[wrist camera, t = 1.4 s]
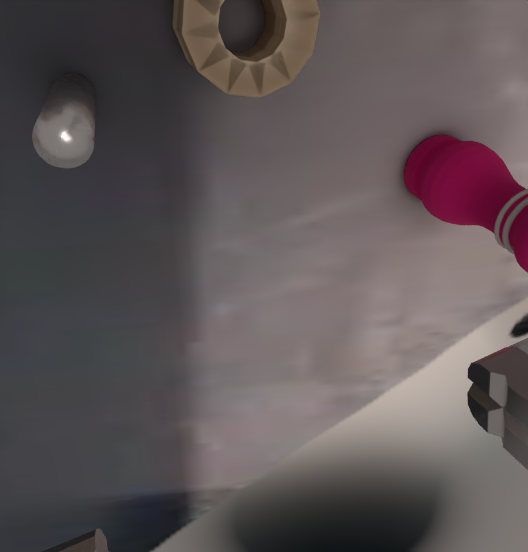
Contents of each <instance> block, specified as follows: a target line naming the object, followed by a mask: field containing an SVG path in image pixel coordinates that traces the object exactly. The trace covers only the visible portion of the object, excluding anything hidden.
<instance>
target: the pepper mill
mask: <svg viewBox="0 0 528 552" xmlns="http://www.w3.org/2000/svg"><path fill="white" fill-rule="evenodd" d="M404 176H405V183H406V186H407V188H408V190H409V191H410V192H411V193H412V194H413V195H414V196H416V197H417V198H419V199H420V200H421V201H422V202H423V204H424V206H425V208H426V209H427V210H428V211H429V212H430V214H432V215H433V216H435V217H436V218H438V219H440V220H442V221H445V222H448V223H452V224H458V225H479V226H483V227H485V228H486V229H488V230H490V231H492V232H493V233H494V234H495V239H496V241H497V242H498V244H499V245H501V246H502V247H503V248H506V249H507V250H508V251H509V252H511V253H513V254H515V257H516V260H517V262H518V263H519V265H520V266H521V267H522V268H523V269H524V270H525V271H526V272H527V273H528V189H525V188H524V187H522V186H520V185H519V184H518V183H517V182H516V181H515V180H514V179H513V177H512V175H511V174H510V172H509V170H508V168H507V167H506V165H505V163H504V162H503V160H502V159H501V158H500V157H499V156H498V155H497V154H496V153H495V152H494V151H493V150H491V149H490V148H488V147H487V146H485V145H483V144H481V143H479V142H474V141H460V140H458V139H456V138H454V137H451V136H448V135H436V136H433V137H430V138H428V139H426V140H424V141H423V142H422V143H421V144H420V145H418V146H417V147H416V149H415V150H414V151H413V152H412V153H411V155H410V157H409V159H408V161H407V164H406V168H405V174H404Z"/></svg>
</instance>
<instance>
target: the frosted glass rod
mask: <svg viewBox="0 0 528 552" xmlns="http://www.w3.org/2000/svg"><path fill="white" fill-rule="evenodd" d="M95 107H96V93H95V90H94V87H93V85H92V84H91V83H90V81H89V80H88V79H86V78H85V77H84V76H82V75H80V74H77V73H65V74H62V75H60V76H59V77H57V78H56V80H55V81H54V83H53V85H52V87H51V89H50V92H49V94H48V96H47V99H46V101H45V103H44V105H43V108H42V110H41V112H40V115H39V117H38V119H37V121H36V124H35V126H34V129H33V134H32V139H33V144H34V147H35V149H36V151H37V153H38V154H39V155H40V157H41V158H42V159H44V160H45V161H46V162H48V163H49V164H51V165H53V166H56V167H59V168H74V167H78V166H80V165H82V164H83V163H85V162H86V161H87V160H88V159H89V158H90V156H91V154H92V152H93V149H94V134H95Z"/></svg>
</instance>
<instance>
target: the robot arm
mask: <svg viewBox="0 0 528 552" xmlns="http://www.w3.org/2000/svg"><path fill="white" fill-rule="evenodd" d="M468 378H469V379H470V380H471V381H472V382H473V384H472V386H471V388H470V389H469V391H468V406H469V408H470V410H471V413H472V415H473V417H474V418H475V420H476V421H477V422H478V424H479V425H480V426H481V427H482V428H483V429H484V430H485V431H486V432H488V433H490V434H493V435H497V436H499V437H501V438H502V443H503V447H504V448H505V449H506V450H507V451H508V452H509V453H510V454H511V455H512V456H513V457H514V458H515V459H516V460H518V461H519V462H520V463H521V464H522V465H523V466H524V467H525V468H526V469H527V470H528V338H527V339H525V340H523V341H520V342H518V343H516V344H513V345H511V346H509V347H506V348H503V349H501V350H499V351H497V352H495V353H493V354H490V355H488V356H486V357H484V358H482V359H480V360H477V361H475V362H473V363H471V365H470V367H469V368H468ZM42 552H108V551H107V541H106V538H105V536H104V535H103V533H102V532H101V530H100V529H96V530H93V531H91V532H89V533H86V534H84V535H81V536H79V537H76V538H74V539H72V540H69V541H67V542H64V543H62V544H59V545H57V546H55V547H52V548H50V549H47V550H45V551H42Z"/></svg>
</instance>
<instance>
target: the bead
mask: <svg viewBox="0 0 528 552" xmlns="http://www.w3.org/2000/svg"><path fill="white" fill-rule="evenodd" d="M223 2H224V0H174V7H173V26H172V28H173V30H174V32H175V34H176V37H177V39H178V41H179V43H180V46H181V48H182V50H183V52H184V55H185V57H186V59H187V61H188V62H189V63H190V64H191V65H192V66H193V67H194V68H195V69H196V70H197V71H198V72H199V73H200V74H202V75H203V76H204V77H206V78H207V79H208V80H209V81H211V82H212V83H213V84H215V85H216V86H217V87H218V88H220V89H221V90H222V91H224V92H225V93H226V94H230V95H240V96H249V97H258V98H261V97H263V96H265V95H268V94H270V93H272V92H274V91H276V90H278V89H280V88H282V87H284V86H286V85H288V84H290V83H292V82H293V80H294V79H295V78H296V76H297V75H298V73H299V72H300V71H301V69H302V68H303V66H304V65H305V64H306V62H307V61H308V60H309V58H310V57H311V55H312V54H313V52H314V46H315V41H316V35H317V30H318V24H319V18H320V10H319V6H318V3H317V0H262V3H263V6H264V9H265V12H266V18H265V25H264V32H263V33H262V35H261V36H260V38H259V39H258V41H257V42H256V44H255V45H254V46H252V47H250V48H248V49H246V50H244V51H242V52H232V51H228V50H227V49H226V48H225V46H224V43H223V41H222V38H221V35H220V33H219V30H218V23H219V12H220V7H221V5H222V4H223Z"/></svg>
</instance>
